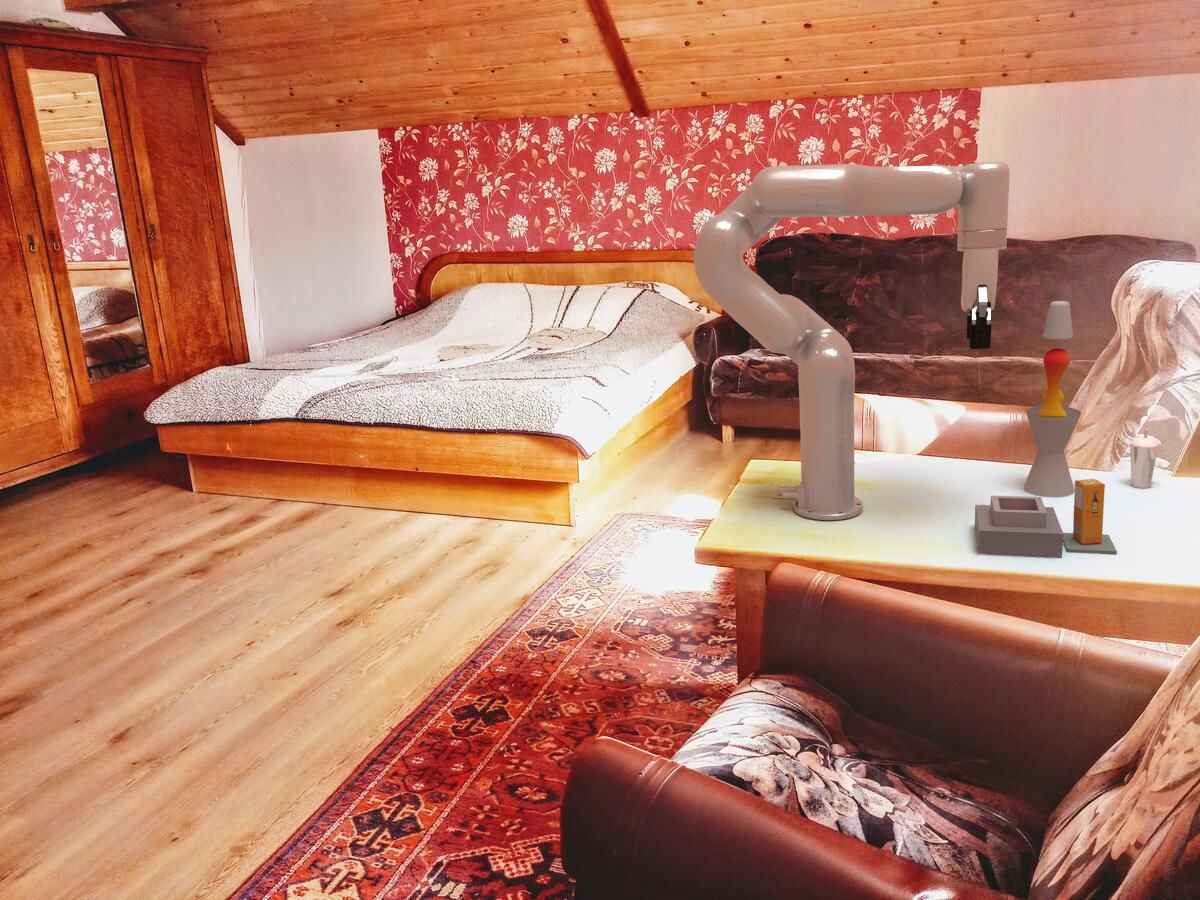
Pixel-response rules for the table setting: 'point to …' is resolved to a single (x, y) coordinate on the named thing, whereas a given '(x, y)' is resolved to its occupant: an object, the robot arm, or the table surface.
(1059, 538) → the frame
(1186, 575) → the table surface
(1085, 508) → the supplement box
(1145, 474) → the milkshake
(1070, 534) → the rest mat
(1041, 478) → the lava lamp
